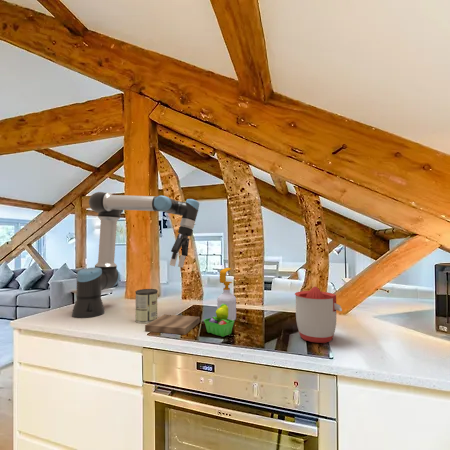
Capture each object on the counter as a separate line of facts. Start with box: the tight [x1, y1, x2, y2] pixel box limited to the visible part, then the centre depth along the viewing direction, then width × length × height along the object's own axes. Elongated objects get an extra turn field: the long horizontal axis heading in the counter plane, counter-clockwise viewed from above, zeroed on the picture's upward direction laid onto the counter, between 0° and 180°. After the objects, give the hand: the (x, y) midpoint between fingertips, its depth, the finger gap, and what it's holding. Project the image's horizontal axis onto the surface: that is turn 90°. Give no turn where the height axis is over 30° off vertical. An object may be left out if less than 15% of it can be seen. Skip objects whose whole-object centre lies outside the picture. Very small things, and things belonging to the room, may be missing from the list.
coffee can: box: [135, 288, 159, 324], centre depth 135 cm, size 10×10×14 cm
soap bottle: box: [216, 267, 237, 322], centre depth 137 cm, size 9×9×25 cm
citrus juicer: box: [294, 286, 343, 344], centre depth 110 cm, size 16×17×20 cm
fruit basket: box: [203, 304, 235, 337], centre depth 117 cm, size 11×9×11 cm
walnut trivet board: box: [144, 314, 201, 335], centre depth 125 cm, size 18×18×2 cm
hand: (176, 266), depth 148 cm, fingers open, 13 cm apart
